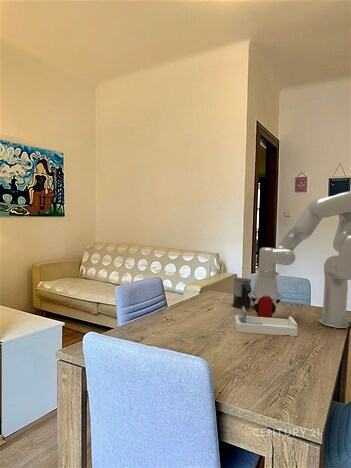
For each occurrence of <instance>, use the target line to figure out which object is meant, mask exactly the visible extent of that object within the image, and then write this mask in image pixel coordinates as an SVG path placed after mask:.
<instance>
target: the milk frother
mask: <svg viewBox="0 0 351 468" xmlns="http://www.w3.org/2000/svg"><path fill="white" fill-rule="evenodd" d="M251 282H252V279H250V278H245V277H234V278H233V302H232V307H233V308H236V309H241V310H242V306H244V307H245V310H247V309H250V308H252V307H253V308H254V304H253V305H251V302H252V300H251V298H250V297H249V296H248V294H249V293H250V292H251V291H252V286H251Z"/></svg>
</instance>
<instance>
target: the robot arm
mask: <svg viewBox="0 0 351 468" xmlns="http://www.w3.org/2000/svg"><path fill="white" fill-rule="evenodd" d="M335 216H338V224H337V228H336V232H335V235H334V238H333V242H332V248H333V249H334V250H335V251H336V252H337V253H338V255H331V256H329V257H327V258H326V260H325V262H324V265H323V275H324V287H323V303H322V317H321V318H319V319H318V321H319V322H320V323H322V324H324V325H328V326H333V327H350V323H351V317H350V316H347V305H348V304H347V303H348V292H349V291H348V289H349V287H348V286H349V284H348V281H351V191H344V192H339V193H337V194H334V195H330V196H327V197H321V198H316V199H313V200H311V201H310V202H309V203H308V204H307V205H306V207H305V208H304V210H303V212H302V213H301V215H300V216H299V217H298V219H297V220H296V221H295V223H294V224H293V226H292V227H291V228H290V229H289V231H287V233H286V234H285V235H284V236H283V237H282V238H281V240H280V242H279V243H278V245H277V246H276V248H274V247H265V246H264V247H261V248H259V254H258V257H259V258H258V274H257V276H256V277H255V281H254V287H253V288H254V289H253V290H251V292H250V293H249V294H248V296H249V297H250V298H251V302H253V305H254V306H253V310H254V311H255V313H256V314H257V312H258V301H259V299H260V298H261V297H263V296H270V297H271V299H273V309H272V315H275V312H276V311H277V310H276V309H277V305H278V304H279V303H280V302H281V301H282V300H283V299H284V296H283V295H282V294H281V293H280V292H279V291H278V280H277V279H278V278H277V276H279V272H277V270H276V267H277V265H282V266H290V265H292V264H294V262H295V261H296V253H295V252H294V250H295V249H296V248H297V247H298V245H300V244H301V243H302V242H303V241H304V240H306V239H309V238H310V237H311V236H312V235H313V233H314V232H315V230H316V228H317V227H318V226H319V225H320V224H321V221H322V220H323V219H324V218H325V219H326V218H330V217H335ZM253 295H254V297H253ZM319 322H318V323H319ZM320 323H319V324H320Z"/></svg>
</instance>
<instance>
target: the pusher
mask: <svg viewBox="0 0 351 468" xmlns="http://www.w3.org/2000/svg"><path fill="white" fill-rule="evenodd" d="M241 316H242V318H241V322H242V323H247V324H260V325H263V324H262V323H251V322H246V316H247V309H245V307H244V306H242V309H241Z"/></svg>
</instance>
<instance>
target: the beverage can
mask: <svg viewBox="0 0 351 468" xmlns="http://www.w3.org/2000/svg"><path fill="white" fill-rule="evenodd" d="M272 309H273V299H271V297H270V296H263V297H261V298H260V299H259V301H258V312H257V313H256V317H265V318H273V313H272Z"/></svg>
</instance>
